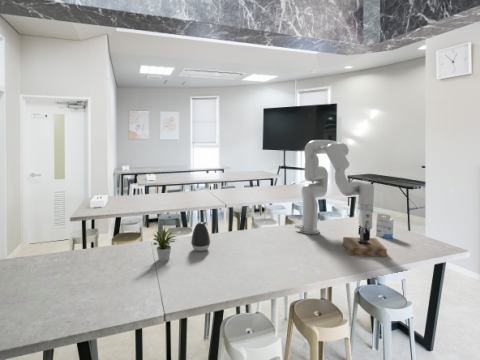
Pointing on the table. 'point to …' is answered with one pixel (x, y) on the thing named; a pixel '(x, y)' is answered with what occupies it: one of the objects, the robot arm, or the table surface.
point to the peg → (362, 237)
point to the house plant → (163, 245)
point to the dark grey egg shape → (200, 237)
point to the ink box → (384, 226)
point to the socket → (364, 247)
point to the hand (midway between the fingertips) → (363, 237)
